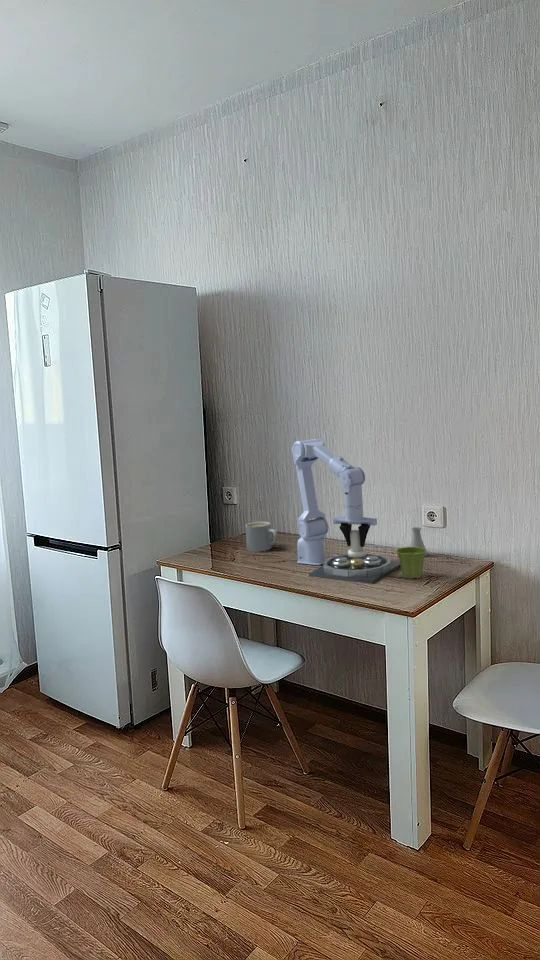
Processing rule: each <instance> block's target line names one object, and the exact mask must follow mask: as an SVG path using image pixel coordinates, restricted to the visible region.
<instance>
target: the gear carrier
mask: <svg viewBox="0 0 540 960" xmlns="http://www.w3.org/2000/svg"><path fill="white" fill-rule="evenodd" d="M399 568H401V565H400V560H391V559H390V557H388V556H385V555H382V554H379V553H369V552H366V556H363V557H349V556H348V553H344V554H340V555H339V554H338V555H334V556H333V555H332V556H331V557H329V558H328V559H326V560H324V563H323V564H322V566H320V567H318V568H316V569H315V570H312V571H310V572H308V576H309V577H314V578H323V579H332V580H340V581H347V582H356V583H364V584H374V583H376V582H378V581H379V580H381V579H383V578H384V577H386V576H388V575H389V574H391V573H393V572H395V571H396V570H398V569H399Z"/></svg>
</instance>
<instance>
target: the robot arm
mask: <svg viewBox="0 0 540 960" xmlns="http://www.w3.org/2000/svg"><path fill="white" fill-rule="evenodd" d="M325 445H326V444H325V442H324V441H323V440H322V439H321V438H319V437H318V438H314V439H313V438H312V439H306V440H296V441H294V443H293V445H292V447H291V452H292V458H293V463H294V465H295V467H296V474H297V480H298V486H299V492H300V497H301V503H302V510H303V512H302V513H301V514H300V516H299V517H298V519H297V521H298V524H297V525H298V526H297V527H298V528H297V531H298V534H299V536H300V537H299V539H298V540H297V543H296V544H297V545H296V547H297V562H296V563H297V564H302V565H314V566H321V565H323V563H324V560H326V559H328V558H327V557H326V547H325V538H326V537H327V536H326V535H327V534H328V532H329V523H328V521H327V518H326V514H325V513H323V512H322V511H320V509H319V507H318V501H317V493H316V487H315V483H314V476H313V469H312V465H313V464H314V463H315V462H316V461H317V460H320V461H322V462H324V463H325V464H326V465H328V470H329V471H330V472H331V473H332V474H333V475H335V476H336V477H337V478H338V479H339V483H340V484H341V487H342V491H343V495H344V510H345V511H344V513H345V516H343V517H342V516H340V517H338V516H337V517H336V516H335V517H333V518H332V523H333V525H340V526H339V530H340V531H341V533H342V534H343V536H344V539H345V542H346V545H347V547H351V545H350V531H351V530H352V527H353V525H359V526H358V527H357V528H358V529H357V530H359V534H360V546H361V547H363V548H364V547H365V546H366V540H367V535H368V532H369V530H370V528H371V526H373V527H375V526H377V525H378V519H377V518H374V517H373V518H372V517H365V516H364V505H363V504H364V503H363V486H362V485H364V483H365V481H366V474H365V472H364V470H363V469H362V468H361V467H360V466H353V465H352V464H351V463H348V461H347V460H345V459H344V457H343V456H335V455H334V454H333V453H332V452H331V451H330V449H328V448H327V447H326V446H325Z"/></svg>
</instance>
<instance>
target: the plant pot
mask: <svg viewBox="0 0 540 960" xmlns="http://www.w3.org/2000/svg"><path fill="white" fill-rule="evenodd" d="M426 550H427V549H424V548H420V547H410V546H406V547H405V546H403V547H400V548H397V549H396V553H397V556H398V558H399V561H400V565H401V567H400V568H401V574H402V577H403V578H404V579H409V580H412V579H420V578H422V576H423V569H424V568H423V567H424V560H425V557H426V556H425V552H426Z"/></svg>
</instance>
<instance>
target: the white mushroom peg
mask: <svg viewBox="0 0 540 960" xmlns="http://www.w3.org/2000/svg"><path fill="white" fill-rule="evenodd" d="M350 545H351V546H350V549H348V550H347V554H348V556H349V557H363V556H366V553H367V550H366V548H364V547H361V546H360V534H359V529H351V531H350Z"/></svg>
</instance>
